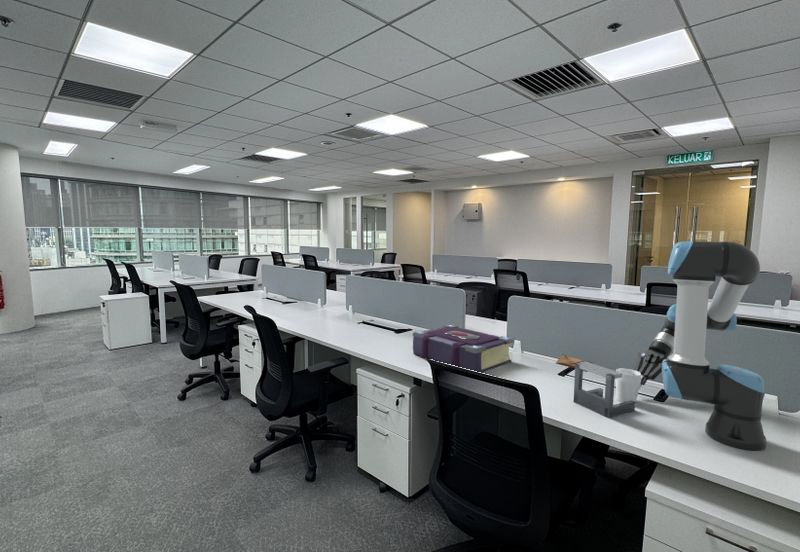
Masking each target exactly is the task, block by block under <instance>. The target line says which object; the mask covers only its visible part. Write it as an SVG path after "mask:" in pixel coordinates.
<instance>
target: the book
mask: <svg viewBox="0 0 800 552" xmlns="http://www.w3.org/2000/svg"><path fill="white" fill-rule="evenodd" d="M412 337H413V338H412V352H413V353H412V354H413V355H414V354H415V356H417V355H418V357H420V358H423V359H425V358H426V359H425V360H428V359H433V360H435V361H439V362H443V363H447V364H451V365H455V366H458V367H462V368H466V369H470V370H474V371H477V372H482V373H484V372H488V371H490V370H492V369H495V368H497V367H501V366H503V365H506V364H508V362H509V363H511V362H512V359H511V358H510V345H511V344H512V343H514V339H513V338H512V337H507V336H503V335H502V336H499V335H493V334H488V333H485V332H480V331H478V330H477V331H476V330H472V329H468V328H463V327H459V326H457V325H453V324H447V325H443V326H441V327H437V328H436V329H427V330H423V331H422V330H419V331H414V332H413V333H412Z"/></svg>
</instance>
